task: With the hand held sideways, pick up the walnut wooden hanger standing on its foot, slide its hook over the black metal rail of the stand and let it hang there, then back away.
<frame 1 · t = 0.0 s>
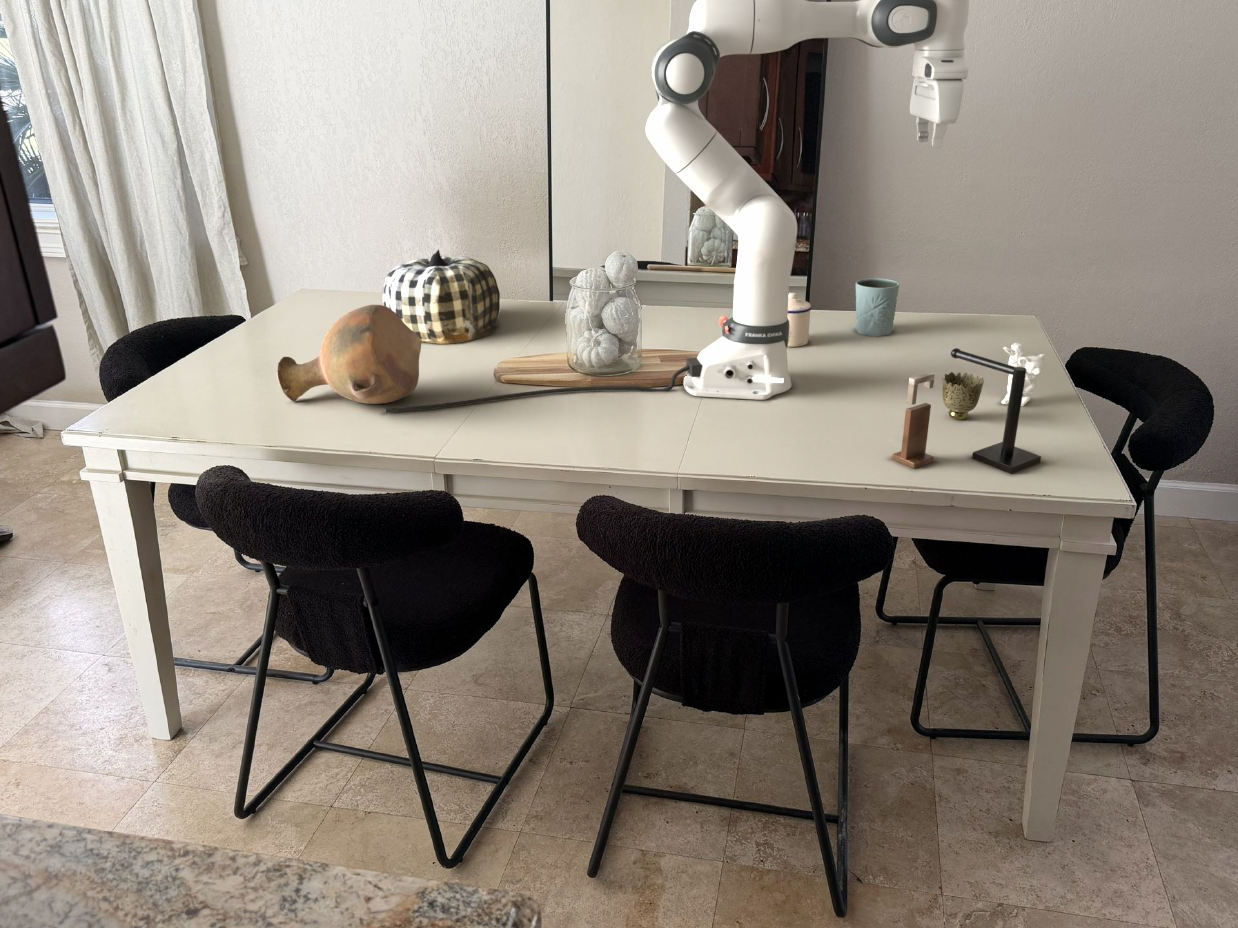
hand: (929, 144, 192), 48 cm above the table, tool pointing down, fingers open, 8 cm apart
decorative pumpkin: (443, 329, 254), on the table
teal embossed pot: (872, 331, 247), on the table
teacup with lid: (783, 342, 239), on the table
white figurine: (1016, 403, 201), on the table
stand: (1005, 460, 175), on the table
jug: (355, 400, 207), on the table
cup: (957, 418, 194), on the table
hanger: (912, 460, 175), on the table
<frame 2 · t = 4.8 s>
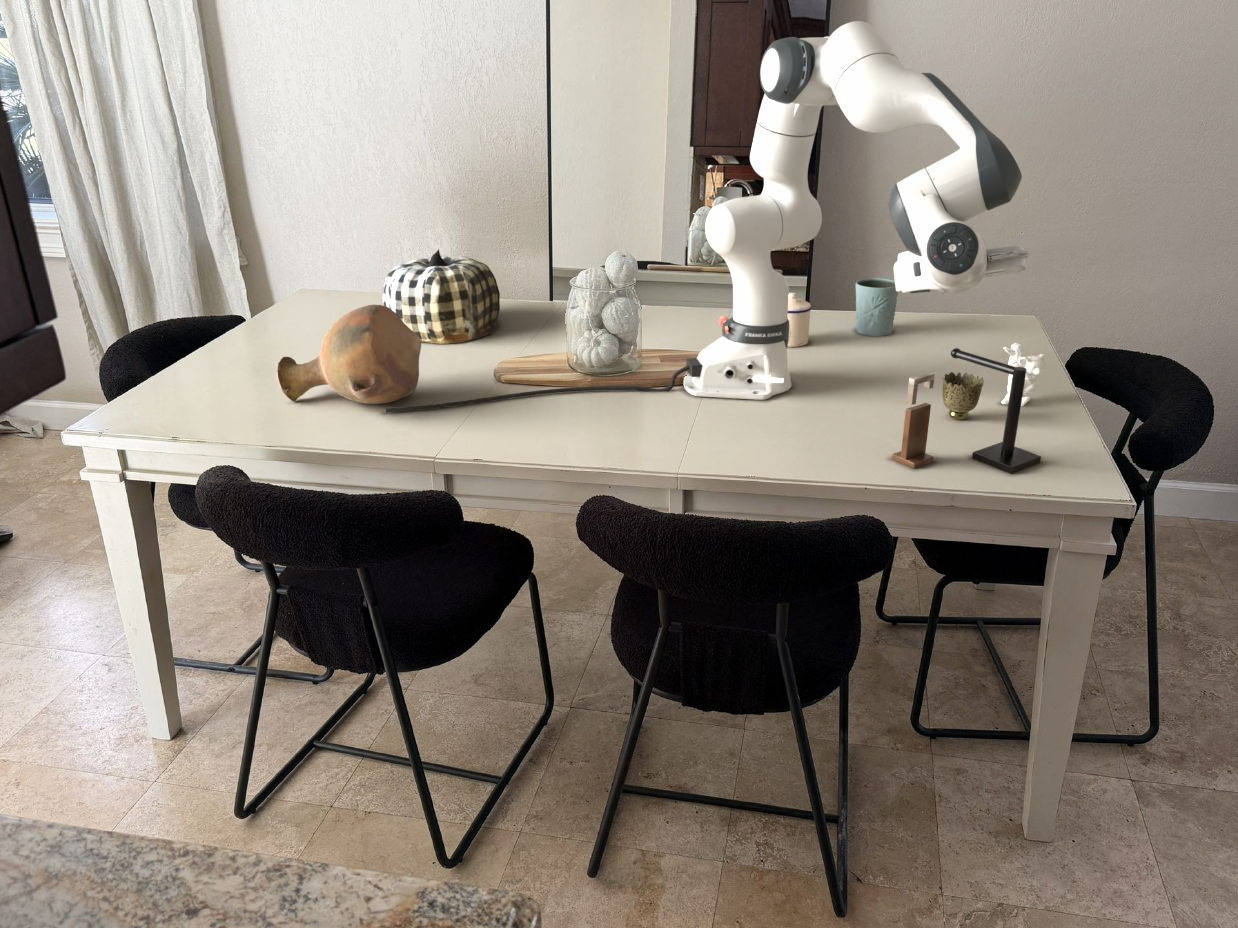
hand: (960, 275, 168), 31 cm above the table, tool tilted 70°, fingers open, 8 cm apart
nothing on the table moved.
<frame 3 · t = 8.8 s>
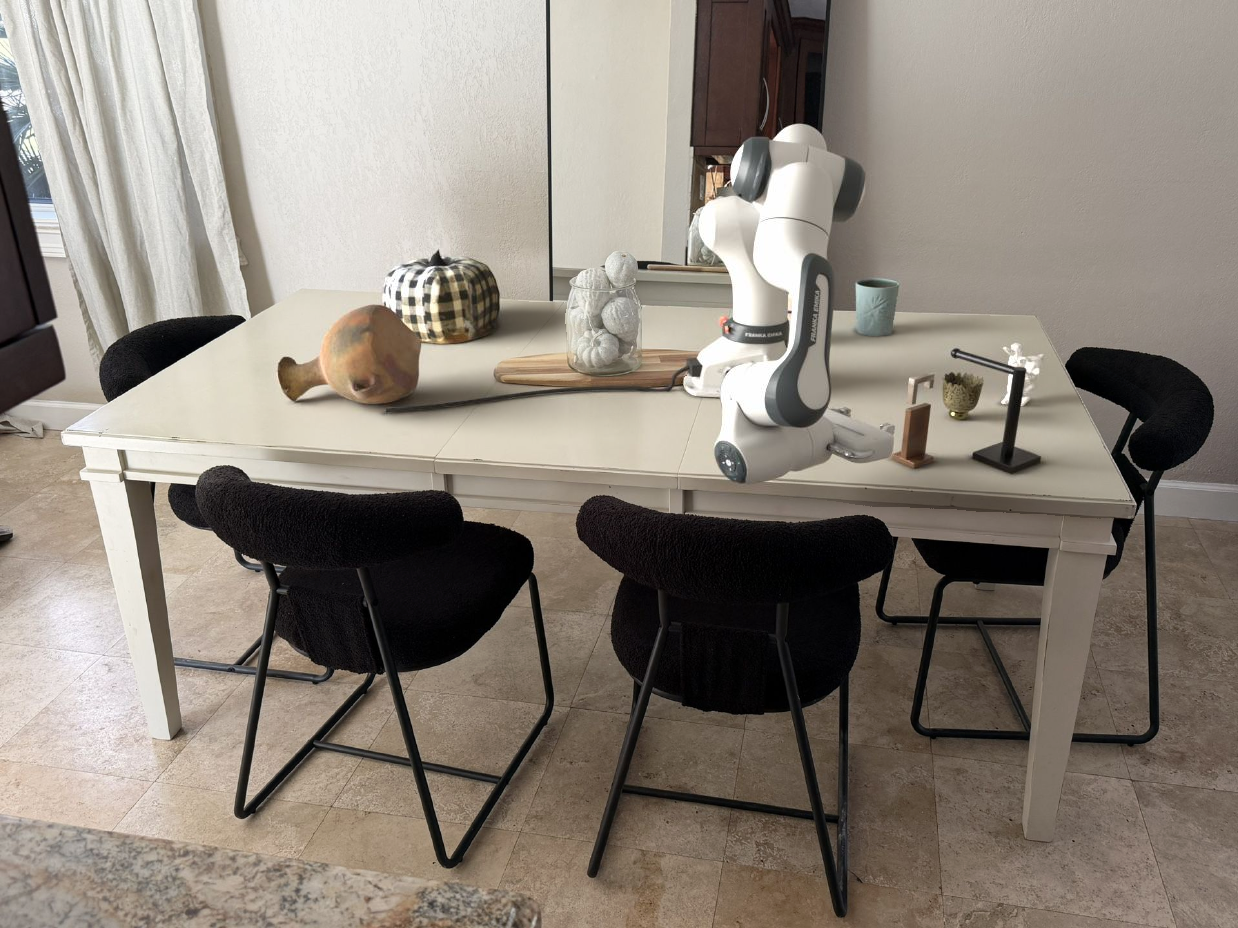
hand: (868, 420, 165), 10 cm above the table, tool horizontal, fingers open, 8 cm apart
nothing on the table moved.
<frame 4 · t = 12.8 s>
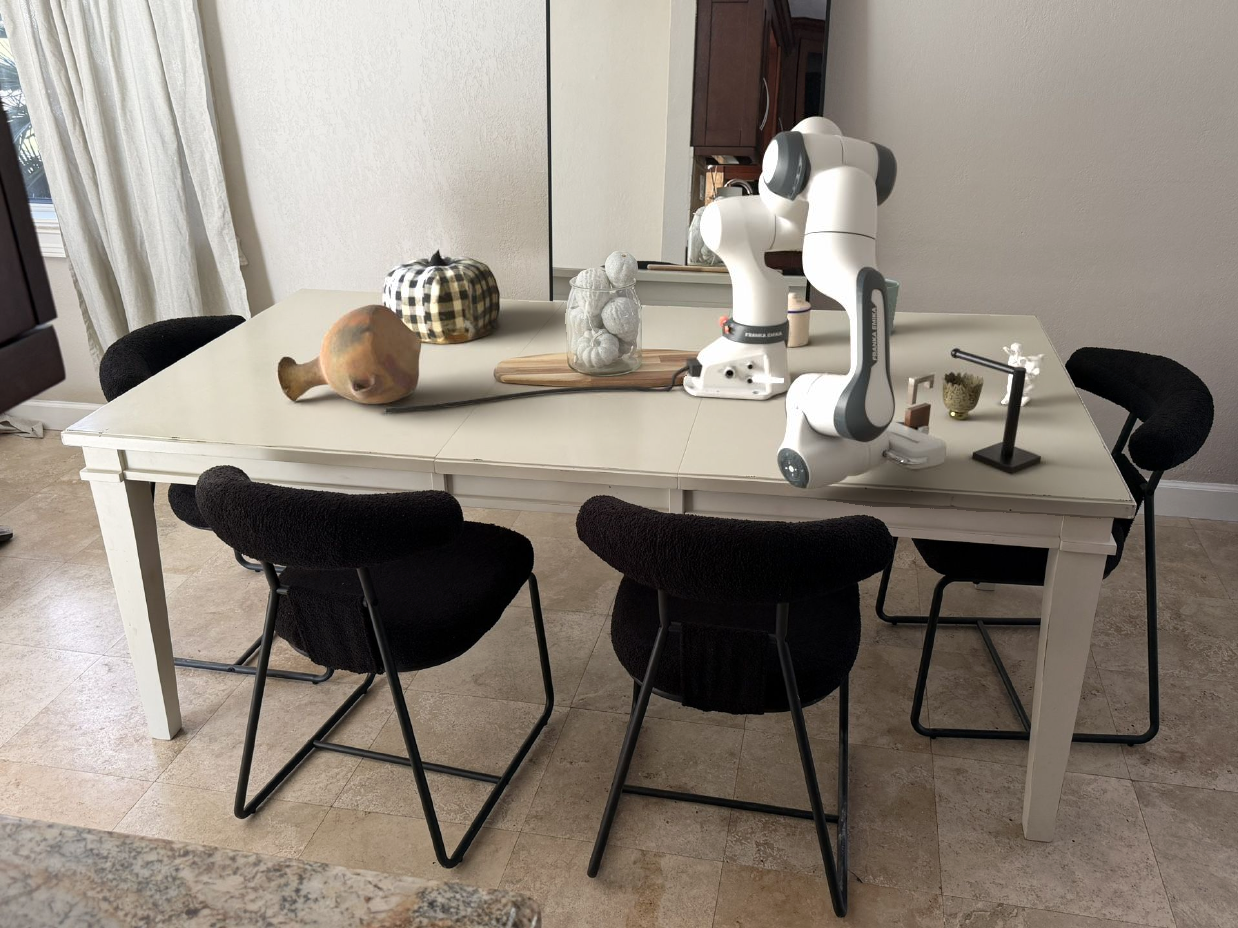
hand: (919, 427, 173), 6 cm above the table, tool horizontal, fingers closed on hanger
hanger: (912, 460, 175), on the table, touching gripper
everything else where it was.
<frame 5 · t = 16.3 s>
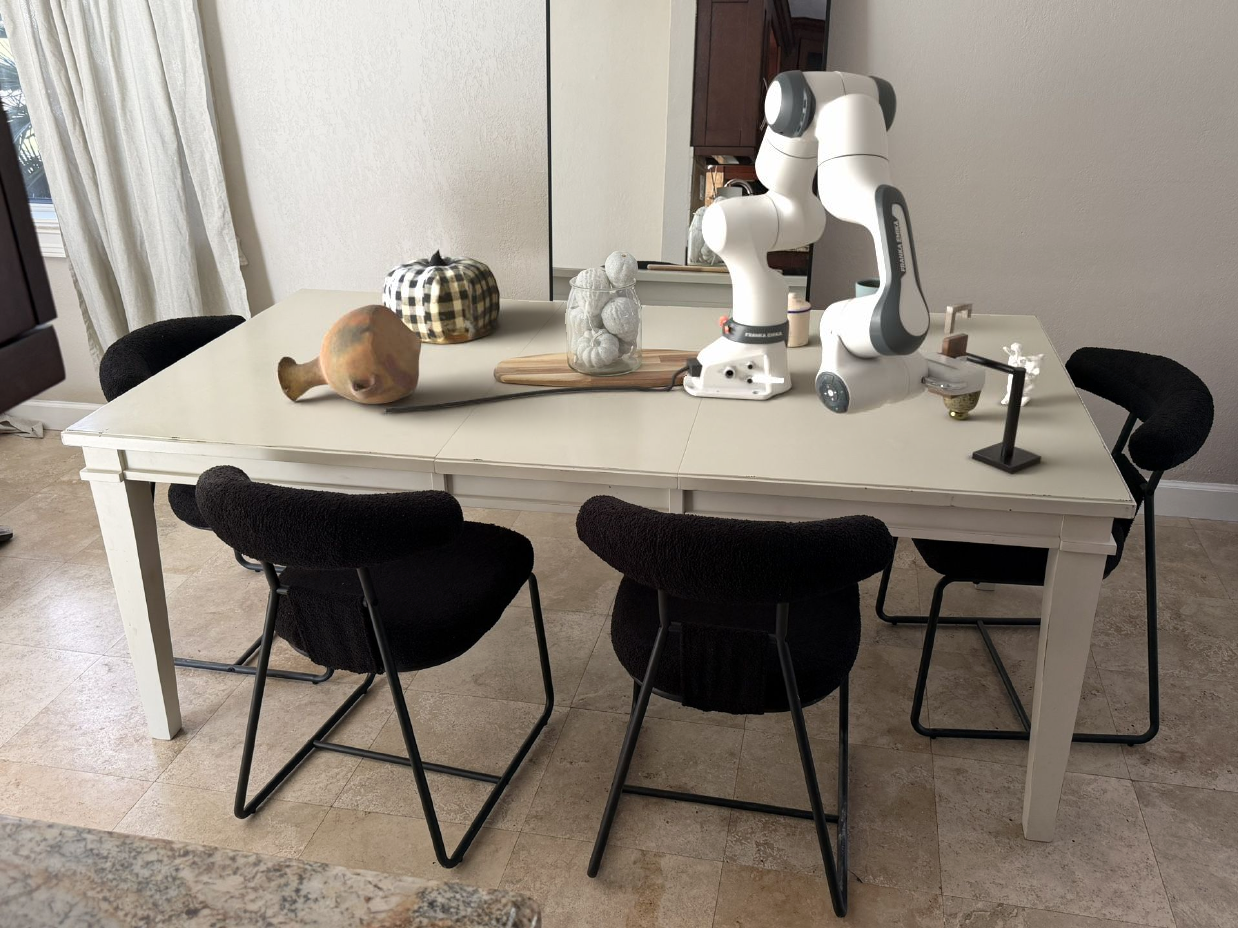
hand: (956, 358, 172), 17 cm above the table, tool horizontal, fingers closed on hanger
hanger: (948, 392, 174), point 11 cm above the table, touching gripper
everything else where it was.
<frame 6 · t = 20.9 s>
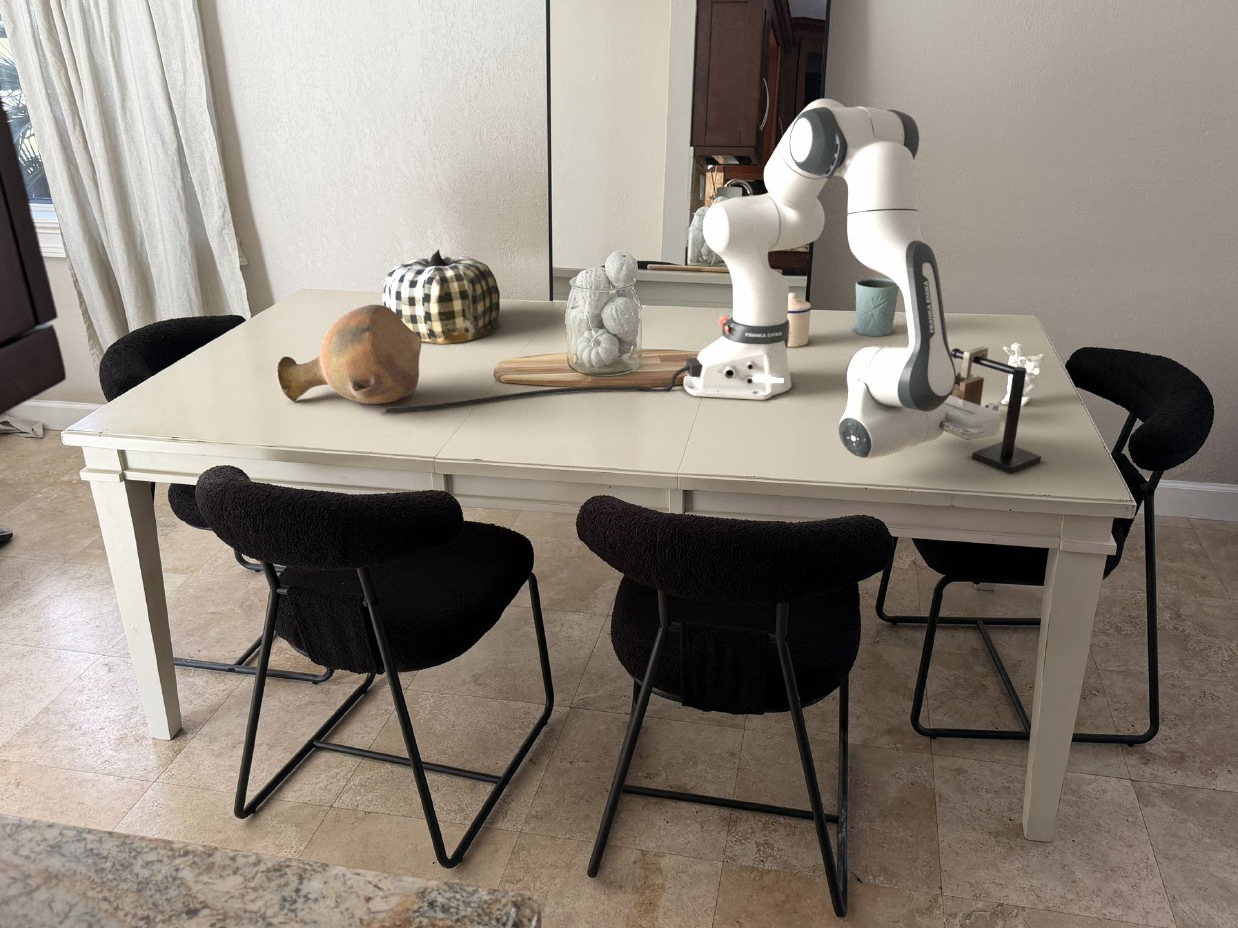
hand: (972, 400, 179), 8 cm above the table, tool horizontal, fingers open, 8 cm apart
hanger: (965, 432, 181), point 2 cm above the table, touching stand
everything else where it was.
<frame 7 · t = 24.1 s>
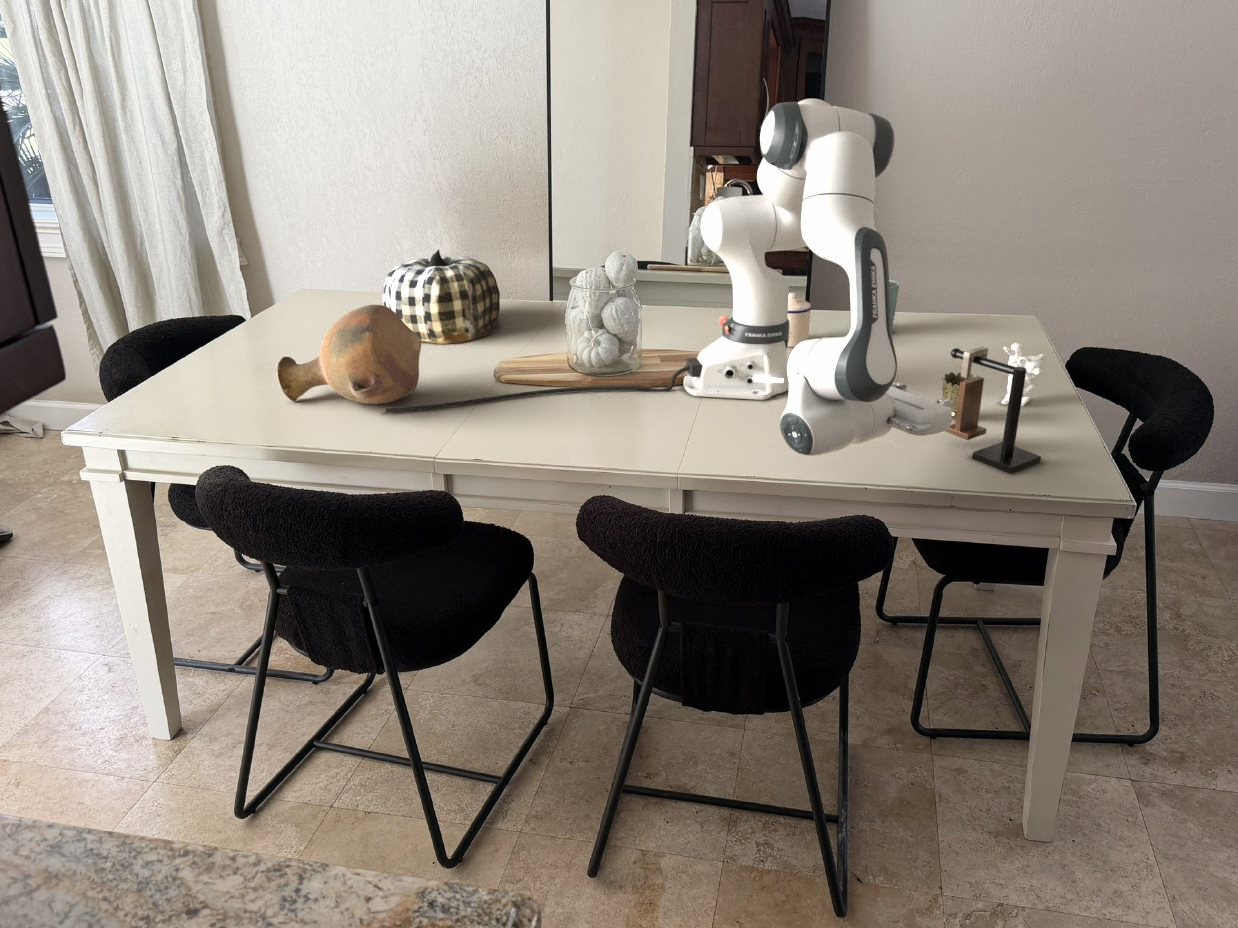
hand: (924, 395, 171), 12 cm above the table, tool horizontal, fingers open, 8 cm apart
nothing on the table moved.
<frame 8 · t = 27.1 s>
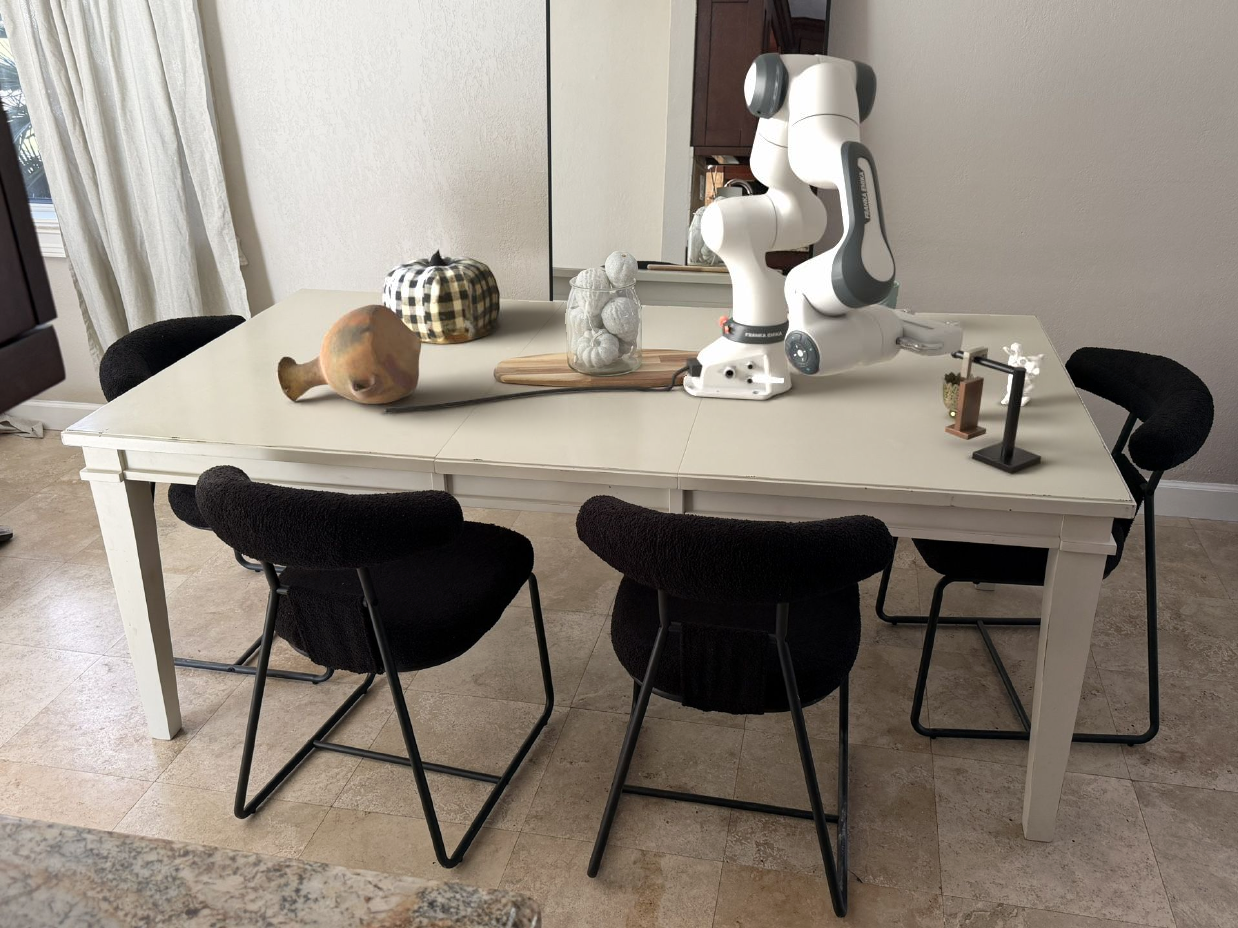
hand: (934, 320, 165), 25 cm above the table, tool horizontal, fingers open, 8 cm apart
nothing on the table moved.
at the end: hanger 0.0 cm from the target spot on the stand, point 2.2 cm above the stand's base; hanger touching stand; the gripper is holding nothing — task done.
